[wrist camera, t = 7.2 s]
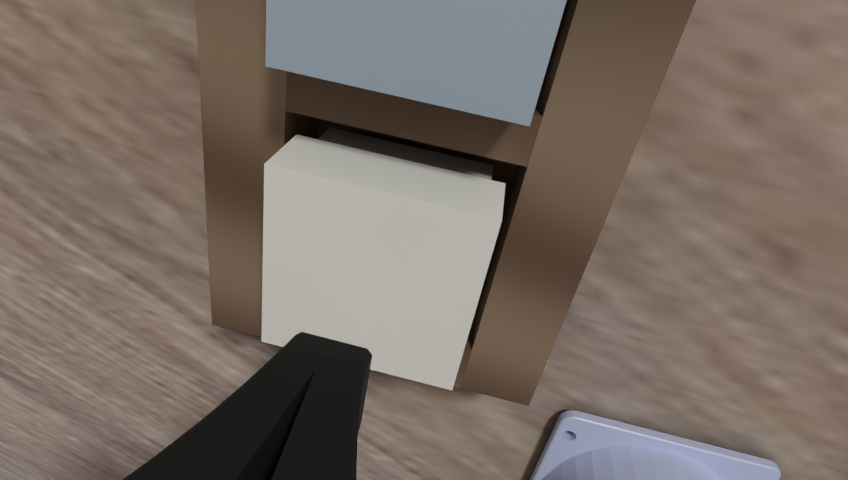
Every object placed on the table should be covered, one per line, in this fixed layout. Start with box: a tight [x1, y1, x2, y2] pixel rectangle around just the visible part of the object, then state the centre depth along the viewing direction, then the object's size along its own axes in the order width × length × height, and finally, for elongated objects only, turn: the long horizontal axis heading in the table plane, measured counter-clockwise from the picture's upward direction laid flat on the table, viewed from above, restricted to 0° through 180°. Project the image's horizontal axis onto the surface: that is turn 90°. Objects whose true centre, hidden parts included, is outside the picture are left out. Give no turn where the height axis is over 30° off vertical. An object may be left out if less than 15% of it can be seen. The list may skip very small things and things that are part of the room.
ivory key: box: [261, 127, 506, 390], centre depth 14 cm, size 5×5×3 cm
